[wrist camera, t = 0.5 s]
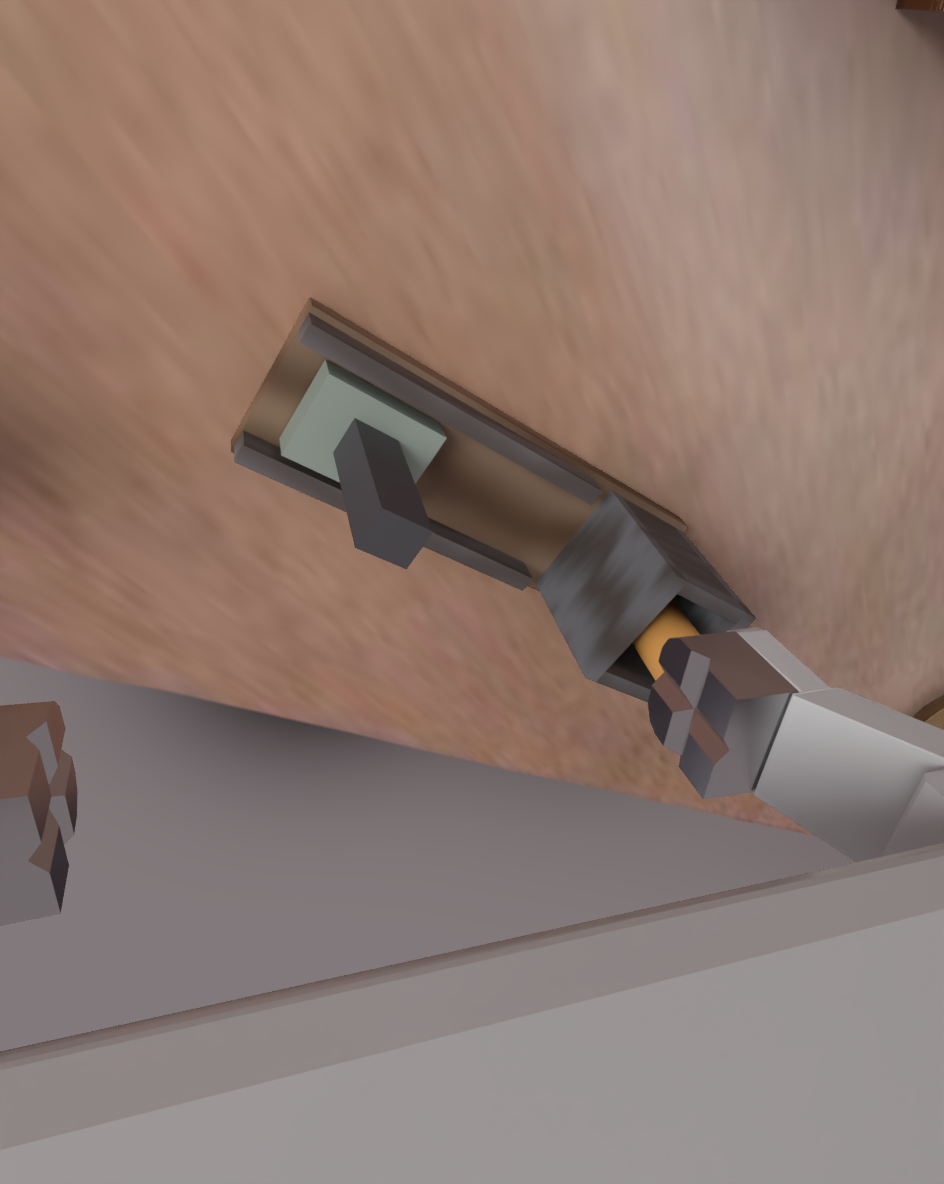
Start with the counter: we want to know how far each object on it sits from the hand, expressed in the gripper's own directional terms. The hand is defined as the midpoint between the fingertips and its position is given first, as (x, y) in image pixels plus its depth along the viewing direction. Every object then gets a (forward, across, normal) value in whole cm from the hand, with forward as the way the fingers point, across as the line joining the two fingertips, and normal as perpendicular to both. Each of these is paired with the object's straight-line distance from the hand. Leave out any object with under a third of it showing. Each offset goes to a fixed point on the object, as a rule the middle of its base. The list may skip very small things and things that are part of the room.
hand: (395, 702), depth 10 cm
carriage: (+37, -6, +9) cm, 38 cm away
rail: (+39, -15, +14) cm, 44 cm away
